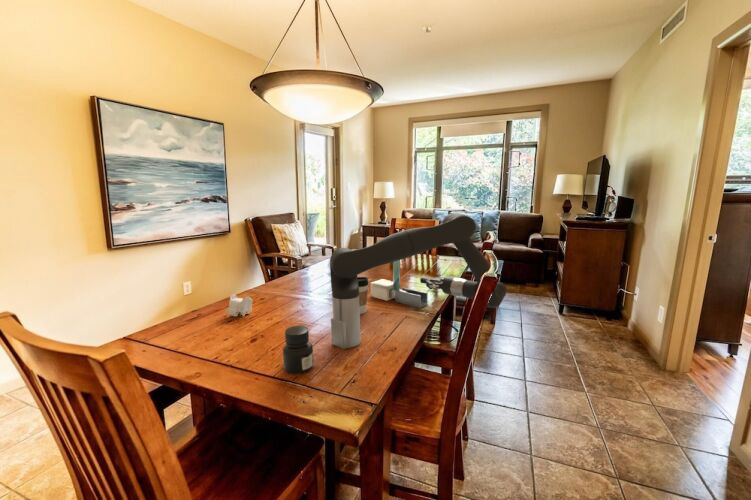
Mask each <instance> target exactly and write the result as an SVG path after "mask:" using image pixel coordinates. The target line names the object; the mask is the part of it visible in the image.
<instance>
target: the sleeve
mask: <svg viewBox="0 0 751 500" xmlns="http://www.w3.org/2000/svg"><path fill="white" fill-rule="evenodd" d="M401 290H405V291H407V292H403V291H399V290H395V298H394V300H395V302H396V303H400V304H403V305H406V306H409V307H410V306H411V307H414V308H417V309H422V308H424V307H426V306H427V305H428V292H425V291H420V290H416V289H412V288H409V287H408V288H407V287H401Z"/></svg>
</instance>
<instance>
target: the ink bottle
mask: <svg viewBox="0 0 751 500" xmlns="http://www.w3.org/2000/svg"><path fill="white" fill-rule="evenodd" d="M284 337H285V339H284V340H285V345H284V346H283V348H282V357H283V358H282V359H283V369H284V372H286V373H287V372H288V374H290V373H292V375H299V373H301V374H304V372H305V373H307V371H308V372H309V371H310V370H312V369H313V367H314V366H315V363H314V361H315V360H314V346H313V343H312V342H310V341H309V340H310V339H309V338H310V337H309V327H307V326H305V325H294V326H290V327H287V328H286V329H285V332H284Z"/></svg>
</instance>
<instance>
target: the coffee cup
mask: <svg viewBox="0 0 751 500" xmlns="http://www.w3.org/2000/svg"><path fill="white" fill-rule="evenodd" d="M357 280H358V286H359V305H360V315H362V314H365V313H366V312H367V304H368V293H369V292H368V290H369V289H368V286H369V279H368V277H367V276H359V277H358V276H357Z"/></svg>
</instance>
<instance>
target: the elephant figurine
mask: <svg viewBox="0 0 751 500" xmlns="http://www.w3.org/2000/svg"><path fill="white" fill-rule="evenodd" d="M253 302H254V300H253V299H252V298H251V297H250V296H247V295H246V296H245V297H244V298H242V297H238V295H237V294H236V293H232V294H231V295H230V298H229V302H228V308H227V309H226V310H225V312H224V314H226V313H228V315H229V316H232V317H238V316H239V315H240V316H241V315H245V314H246V313H250V312H251V313H252V311H253V307H252V305H253ZM239 312H240V313H239ZM236 313H239V315H238V314H236Z"/></svg>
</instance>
